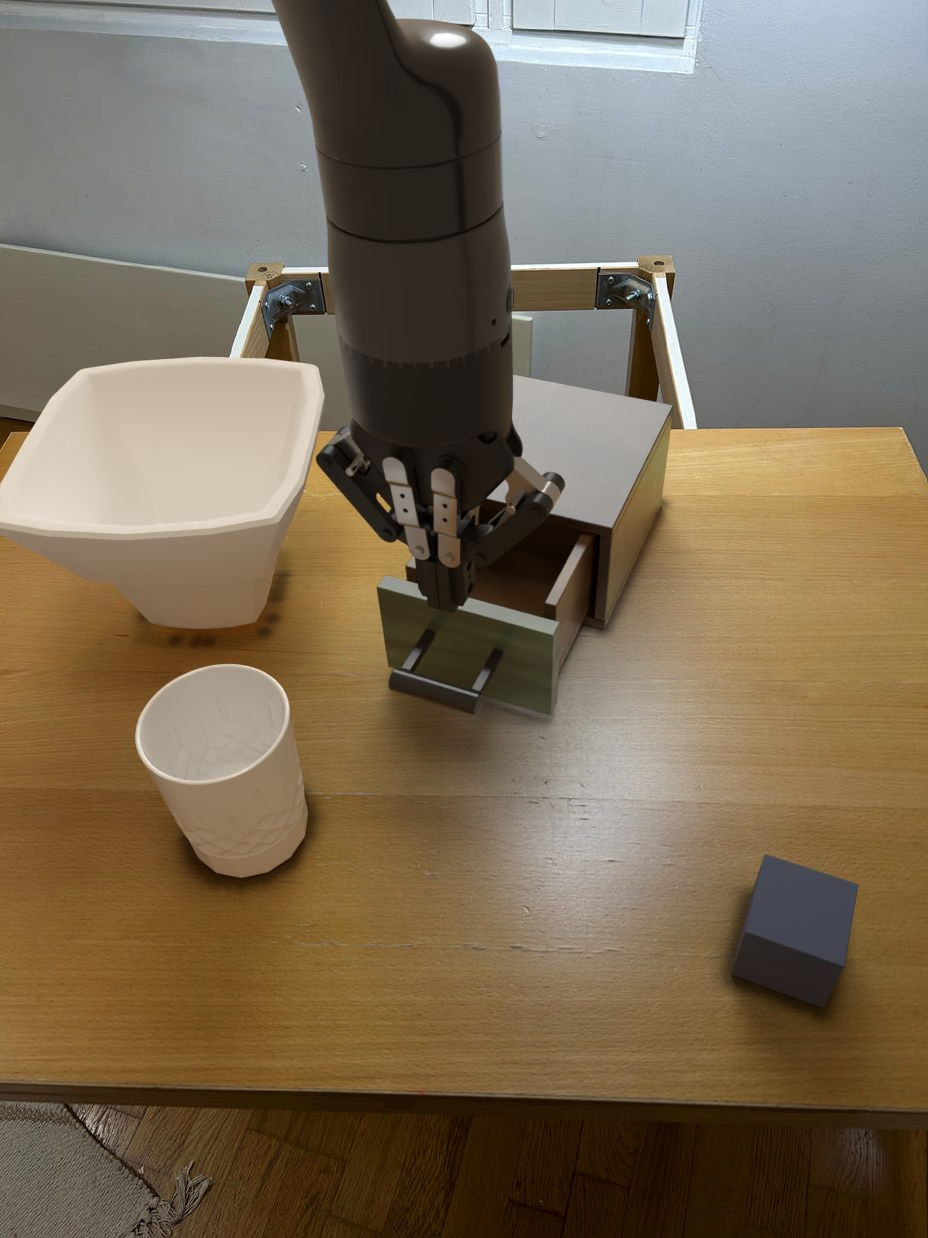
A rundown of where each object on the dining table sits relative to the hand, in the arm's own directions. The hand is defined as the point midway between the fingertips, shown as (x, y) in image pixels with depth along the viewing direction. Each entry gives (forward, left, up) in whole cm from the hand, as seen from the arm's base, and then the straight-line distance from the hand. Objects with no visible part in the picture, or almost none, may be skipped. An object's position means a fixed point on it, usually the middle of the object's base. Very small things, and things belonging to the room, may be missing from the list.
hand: (448, 600), depth 54 cm
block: (-22, +7, -11) cm, 25 cm away
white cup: (+8, +11, -11) cm, 18 cm away
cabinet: (0, -19, -11) cm, 22 cm away
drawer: (0, -7, -10) cm, 12 cm away
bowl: (+21, -5, -11) cm, 25 cm away
